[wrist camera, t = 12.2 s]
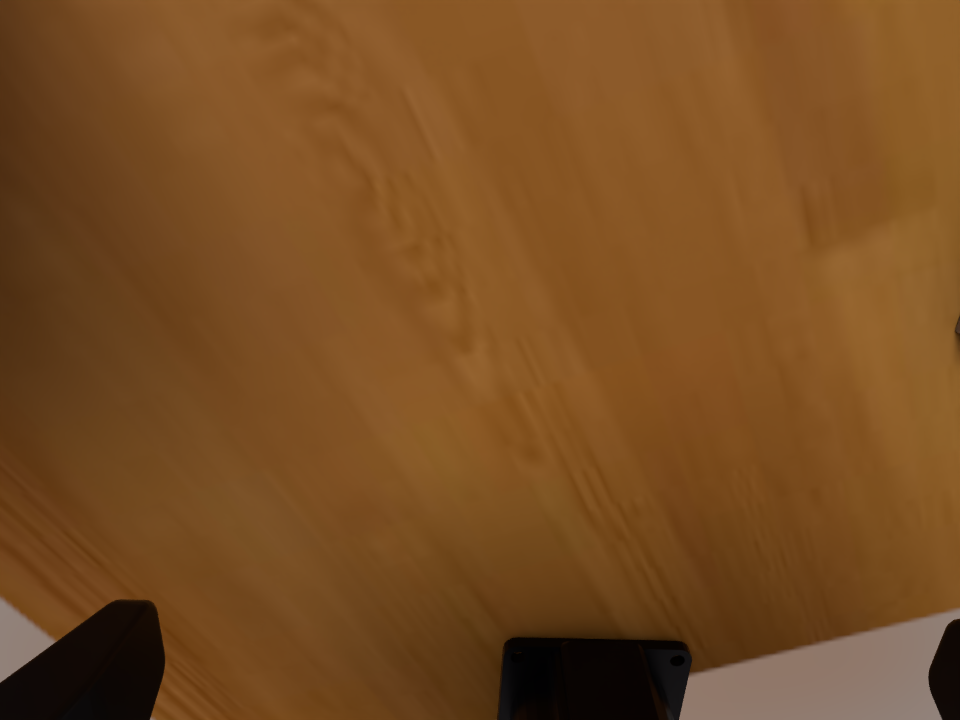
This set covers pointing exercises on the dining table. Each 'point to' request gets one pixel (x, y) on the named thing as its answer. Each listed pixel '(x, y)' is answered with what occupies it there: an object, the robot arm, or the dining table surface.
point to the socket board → (958, 327)
